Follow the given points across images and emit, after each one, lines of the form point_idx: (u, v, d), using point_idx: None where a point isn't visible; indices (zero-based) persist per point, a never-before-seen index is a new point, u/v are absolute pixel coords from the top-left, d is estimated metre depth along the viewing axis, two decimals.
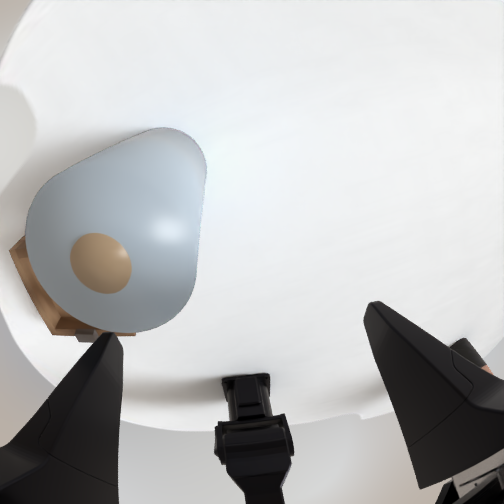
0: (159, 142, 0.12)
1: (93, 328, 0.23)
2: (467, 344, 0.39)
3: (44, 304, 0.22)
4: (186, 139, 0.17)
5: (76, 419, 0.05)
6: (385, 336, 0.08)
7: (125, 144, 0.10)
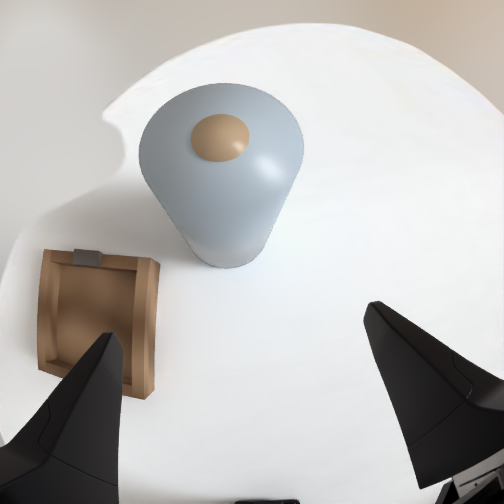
0: None
1: None
2: None
3: (47, 327, 0.18)
4: None
5: (76, 419, 0.05)
6: (385, 336, 0.08)
7: None
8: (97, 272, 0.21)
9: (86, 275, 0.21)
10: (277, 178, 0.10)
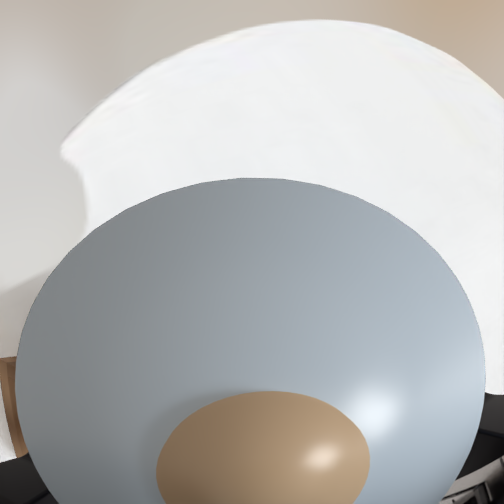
0: None
1: None
2: None
3: (24, 446, 0.10)
4: None
5: None
6: None
7: None
8: None
9: None
10: None
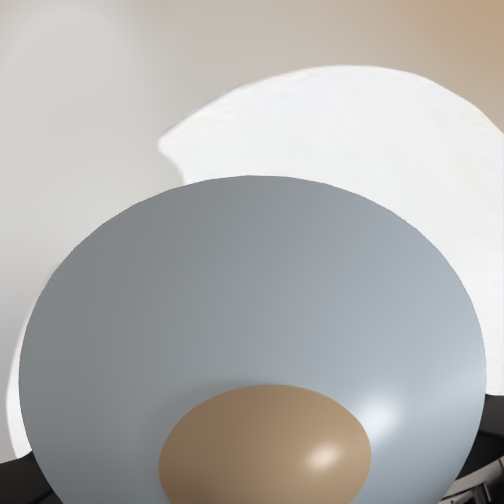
0: None
1: None
2: None
3: None
4: None
5: None
6: None
7: None
8: None
9: None
10: None
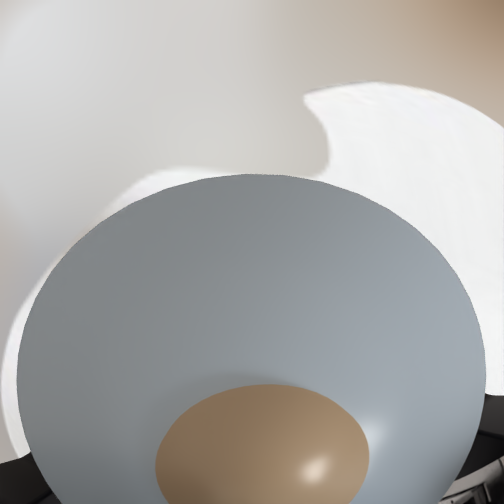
0: None
1: None
2: None
3: None
4: None
5: None
6: None
7: None
8: None
9: None
10: None
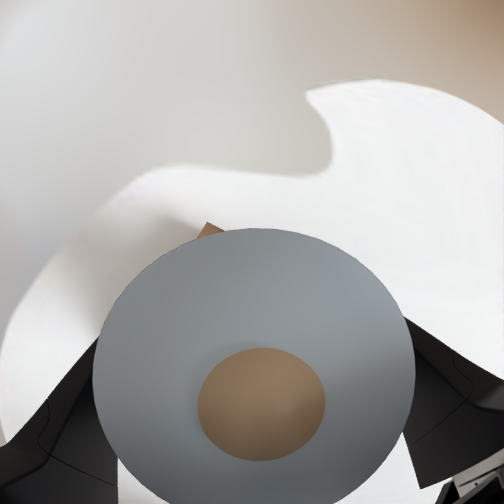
0: None
1: None
2: None
3: None
4: None
5: (75, 419, 0.05)
6: None
7: None
8: None
9: None
10: (361, 466, 0.04)
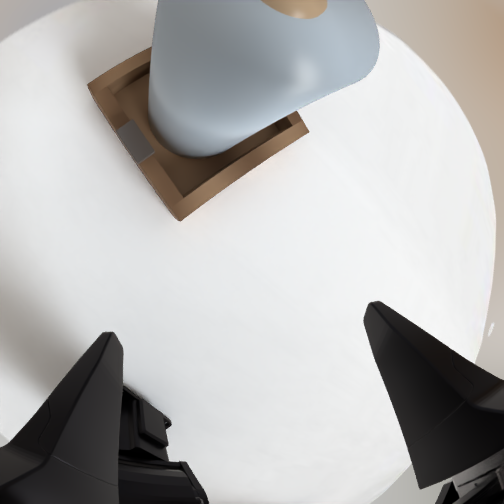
0: None
1: None
2: None
3: (149, 64, 0.13)
4: None
5: (76, 419, 0.05)
6: (385, 336, 0.08)
7: None
8: None
9: None
10: (332, 69, 0.06)
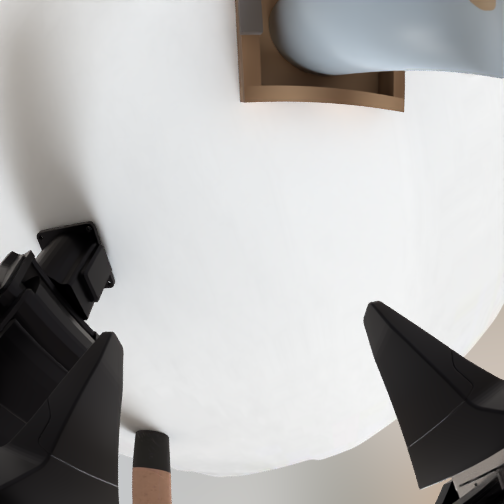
0: None
1: None
2: (168, 444, 0.43)
3: None
4: None
5: (76, 419, 0.05)
6: (385, 336, 0.08)
7: None
8: None
9: None
10: (473, 48, 0.03)
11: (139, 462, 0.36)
